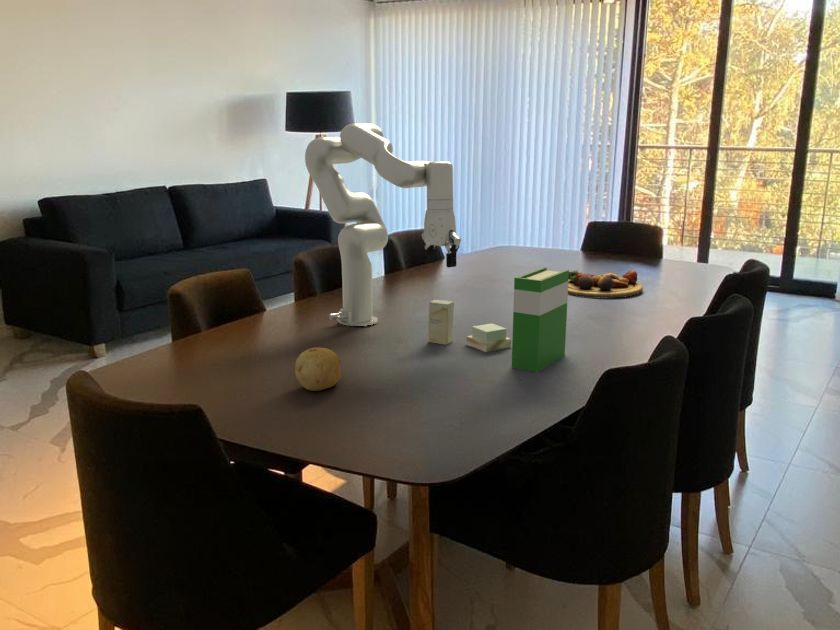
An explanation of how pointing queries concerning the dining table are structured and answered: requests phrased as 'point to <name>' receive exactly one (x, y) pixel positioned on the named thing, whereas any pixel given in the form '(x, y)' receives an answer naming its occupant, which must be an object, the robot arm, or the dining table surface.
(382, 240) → the robot arm
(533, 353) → the hardback book
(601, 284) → the wooden plate with food
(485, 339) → the tower top
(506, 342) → the tower base
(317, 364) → the potato
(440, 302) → the skincare box
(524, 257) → the dining table surface
